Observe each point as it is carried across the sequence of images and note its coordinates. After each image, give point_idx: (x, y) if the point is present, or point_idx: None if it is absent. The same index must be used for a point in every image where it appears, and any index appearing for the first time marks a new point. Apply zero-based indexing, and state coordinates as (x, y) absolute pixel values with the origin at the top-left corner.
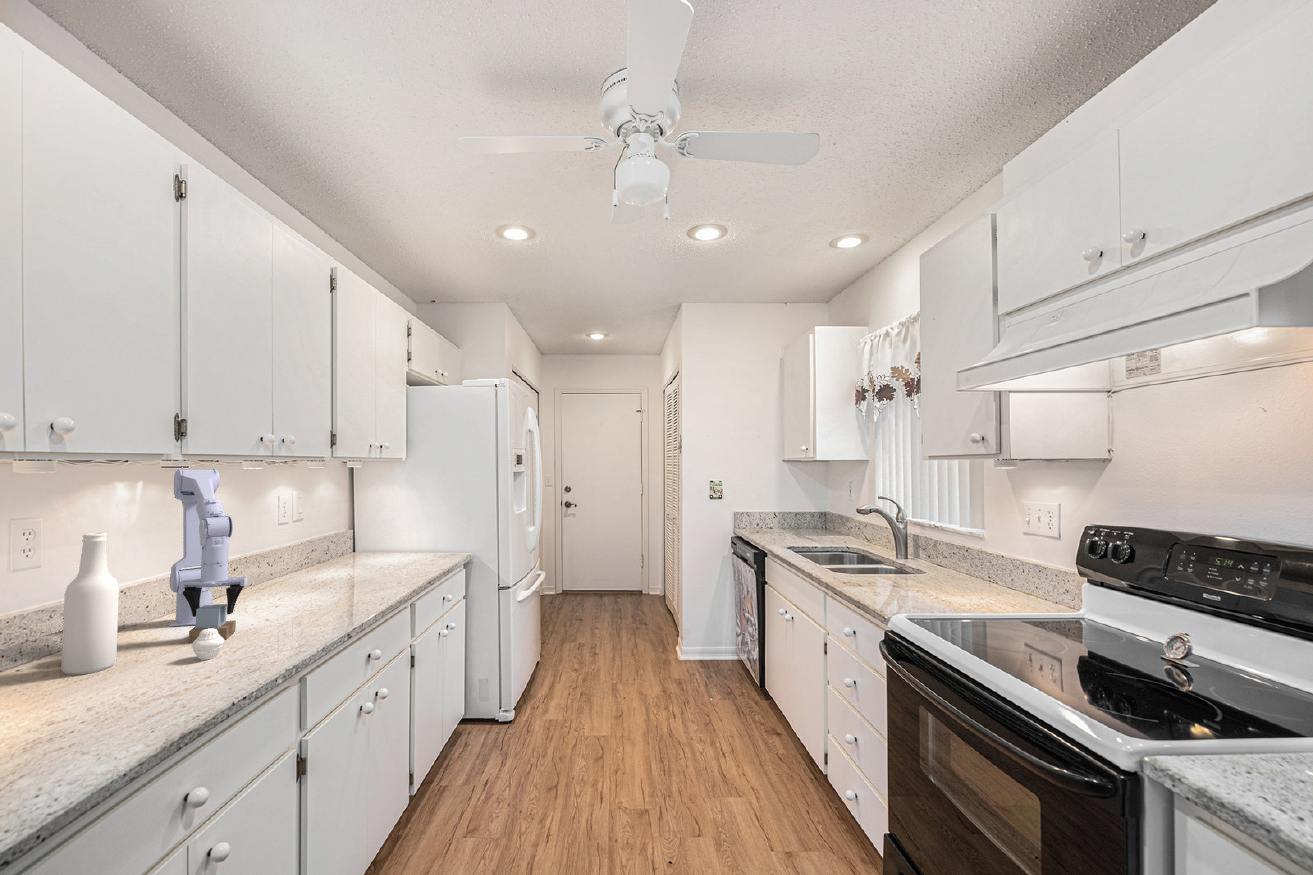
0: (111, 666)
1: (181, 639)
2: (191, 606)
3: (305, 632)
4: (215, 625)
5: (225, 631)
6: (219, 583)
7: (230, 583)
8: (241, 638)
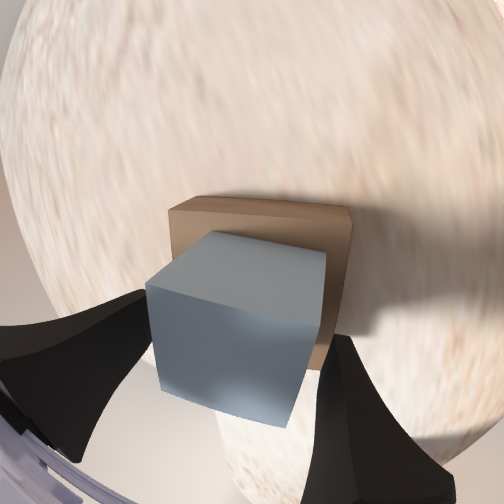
0: (494, 1)
1: (385, 298)
2: (364, 385)
3: (27, 198)
4: (218, 237)
5: (181, 204)
6: (3, 457)
7: (19, 446)
8: (147, 196)
